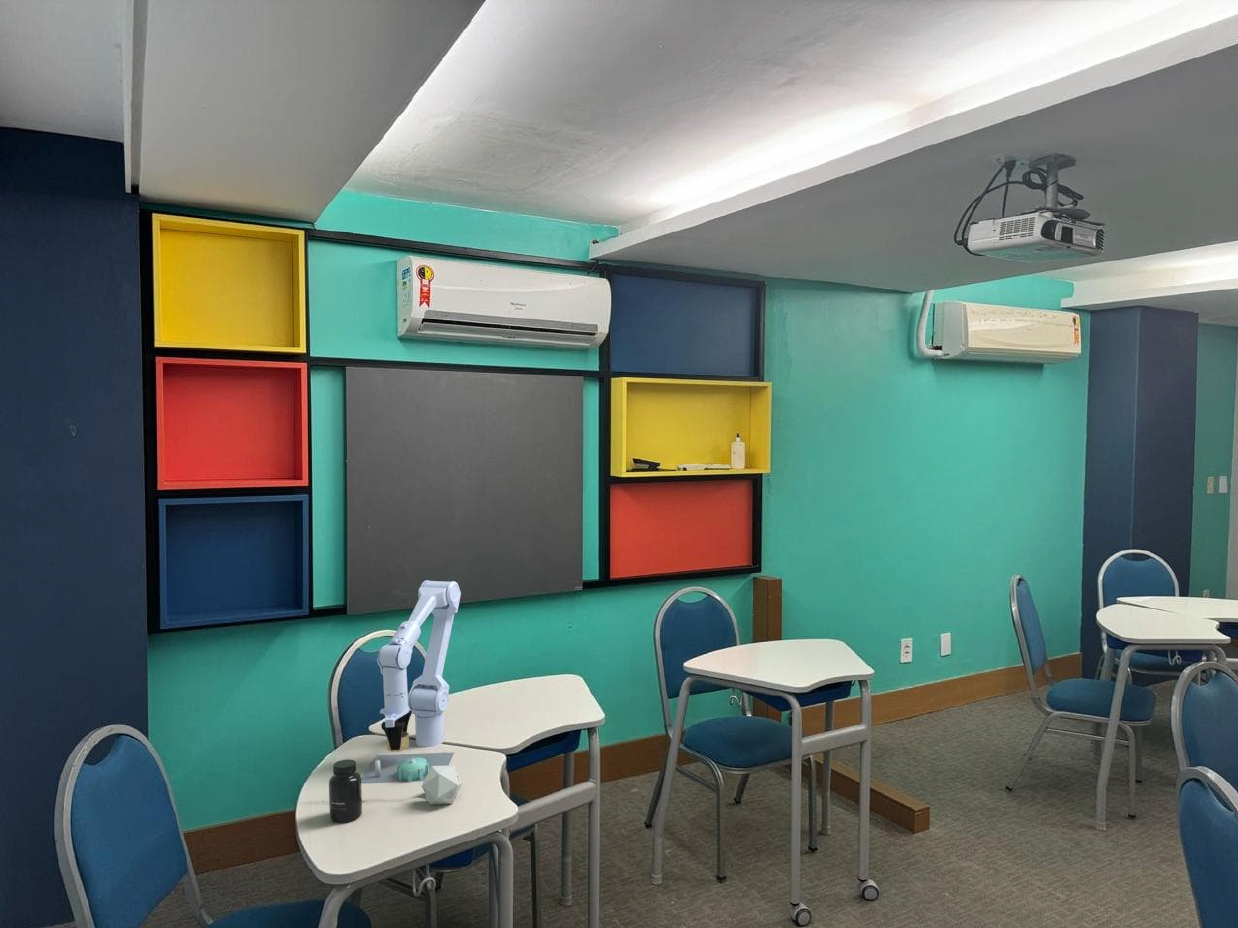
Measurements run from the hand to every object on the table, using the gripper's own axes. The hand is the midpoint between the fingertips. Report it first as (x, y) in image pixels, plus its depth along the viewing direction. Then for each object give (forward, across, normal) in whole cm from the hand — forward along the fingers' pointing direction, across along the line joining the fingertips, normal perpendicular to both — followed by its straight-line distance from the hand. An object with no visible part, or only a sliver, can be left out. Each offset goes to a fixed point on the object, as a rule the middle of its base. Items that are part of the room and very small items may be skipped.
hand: (398, 744), depth 210 cm
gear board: (+6, +3, +3) cm, 7 cm away
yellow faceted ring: (+1, 0, 0) cm, 1 cm away
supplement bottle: (+5, +27, -5) cm, 28 cm away
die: (+6, +21, +15) cm, 26 cm away
